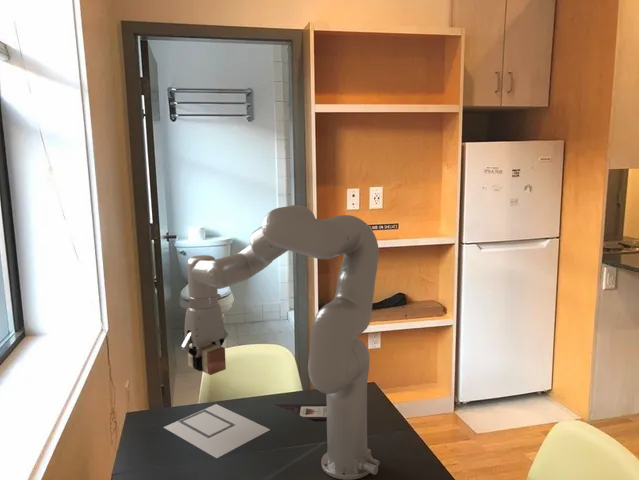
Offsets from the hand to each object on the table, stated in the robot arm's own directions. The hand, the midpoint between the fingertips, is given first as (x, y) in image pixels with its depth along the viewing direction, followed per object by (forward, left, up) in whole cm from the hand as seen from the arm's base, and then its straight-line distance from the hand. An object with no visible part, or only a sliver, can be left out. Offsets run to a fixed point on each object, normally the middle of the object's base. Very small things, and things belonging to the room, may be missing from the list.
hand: (206, 365), depth 142 cm
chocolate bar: (-14, -22, -19) cm, 32 cm away
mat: (-3, 0, -18) cm, 18 cm away
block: (0, 0, 0) cm, 0 cm away
